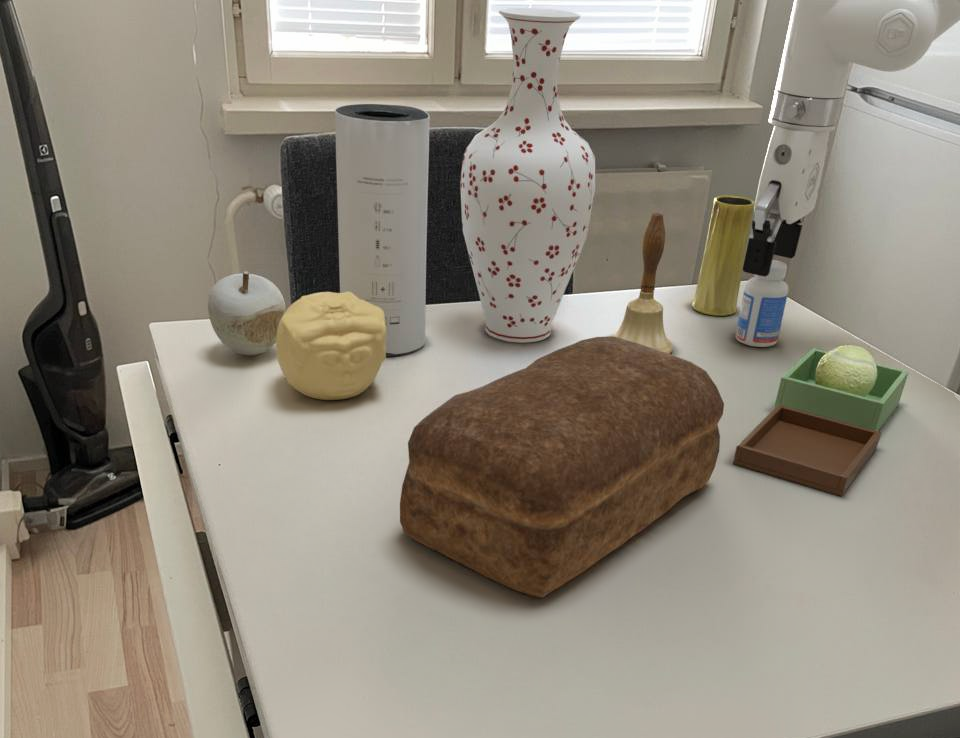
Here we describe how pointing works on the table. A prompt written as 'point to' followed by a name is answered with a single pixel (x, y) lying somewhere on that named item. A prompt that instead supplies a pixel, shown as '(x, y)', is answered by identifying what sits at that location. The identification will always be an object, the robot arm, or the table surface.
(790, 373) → the green bin
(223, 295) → the decorative object
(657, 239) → the hand bell
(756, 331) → the pill bottle
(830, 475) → the walnut tray
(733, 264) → the vase
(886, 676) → the table surface
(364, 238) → the speaker
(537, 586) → the bread
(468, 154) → the vase
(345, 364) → the sculpture
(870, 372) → the tennis ball
